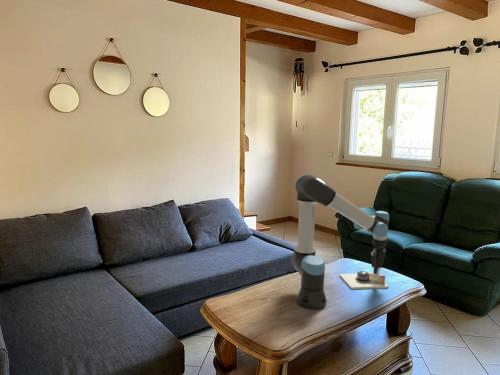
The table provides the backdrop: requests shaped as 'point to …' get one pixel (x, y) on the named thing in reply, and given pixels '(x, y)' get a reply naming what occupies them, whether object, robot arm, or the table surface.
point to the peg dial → (370, 277)
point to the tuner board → (361, 282)
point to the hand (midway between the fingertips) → (375, 278)
